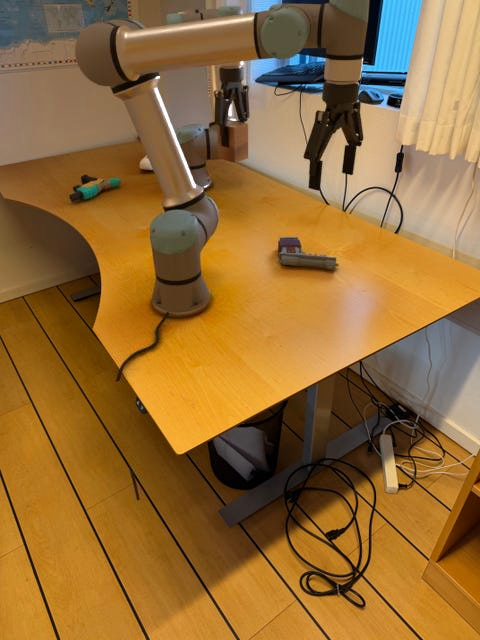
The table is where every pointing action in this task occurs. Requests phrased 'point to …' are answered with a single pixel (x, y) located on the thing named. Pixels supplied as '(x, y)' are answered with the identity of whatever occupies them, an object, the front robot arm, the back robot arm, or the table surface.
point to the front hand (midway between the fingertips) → (331, 181)
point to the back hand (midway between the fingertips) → (232, 143)
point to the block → (234, 142)
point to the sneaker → (145, 164)
